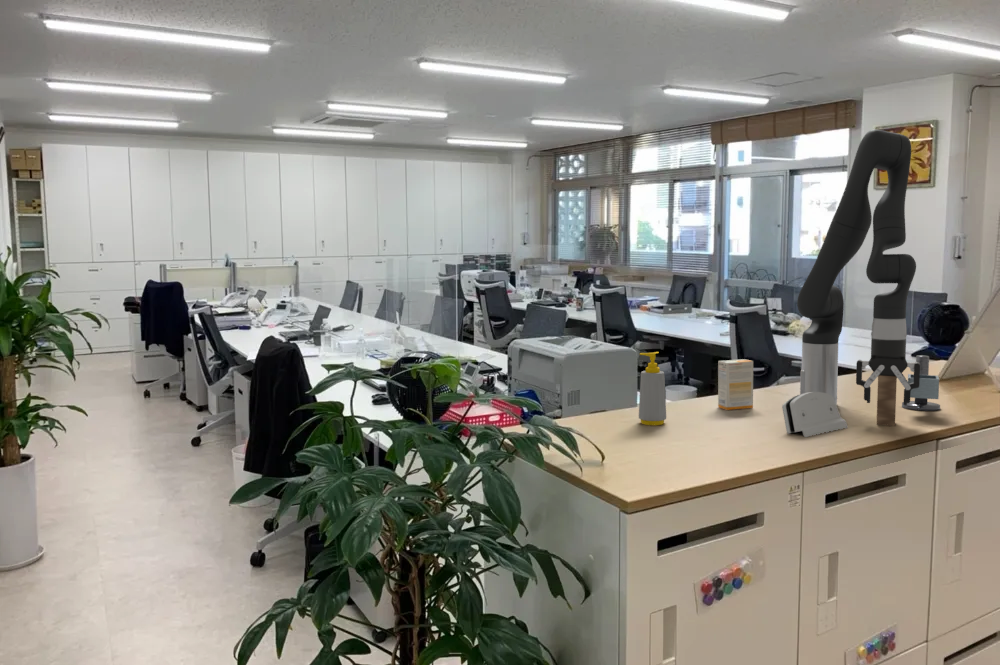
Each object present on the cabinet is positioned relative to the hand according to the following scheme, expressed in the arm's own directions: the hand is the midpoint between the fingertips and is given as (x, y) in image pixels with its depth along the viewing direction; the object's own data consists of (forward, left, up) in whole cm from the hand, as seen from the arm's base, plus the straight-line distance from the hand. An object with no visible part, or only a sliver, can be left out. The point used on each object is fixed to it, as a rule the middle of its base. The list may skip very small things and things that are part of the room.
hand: (886, 403), depth 186 cm
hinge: (-15, -14, -5) cm, 21 cm away
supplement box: (-37, +6, -5) cm, 38 cm away
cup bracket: (+8, +20, -5) cm, 22 cm away
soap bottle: (-52, -22, -5) cm, 57 cm away
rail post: (0, 0, -5) cm, 5 cm away
